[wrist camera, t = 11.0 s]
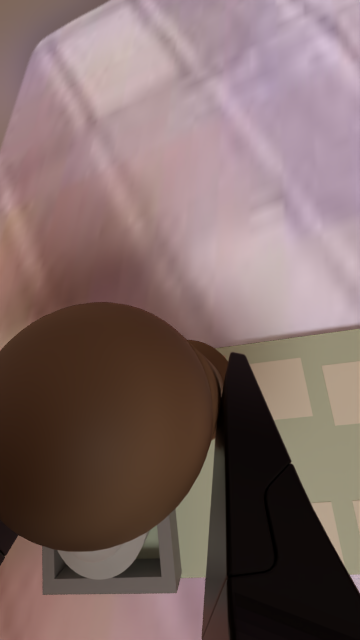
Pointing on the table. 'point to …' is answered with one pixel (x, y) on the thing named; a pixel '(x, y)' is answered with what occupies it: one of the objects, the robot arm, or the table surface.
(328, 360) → the board
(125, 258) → the table surface
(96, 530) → the pawn
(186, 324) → the table surface
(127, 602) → the table surface
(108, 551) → the dome
